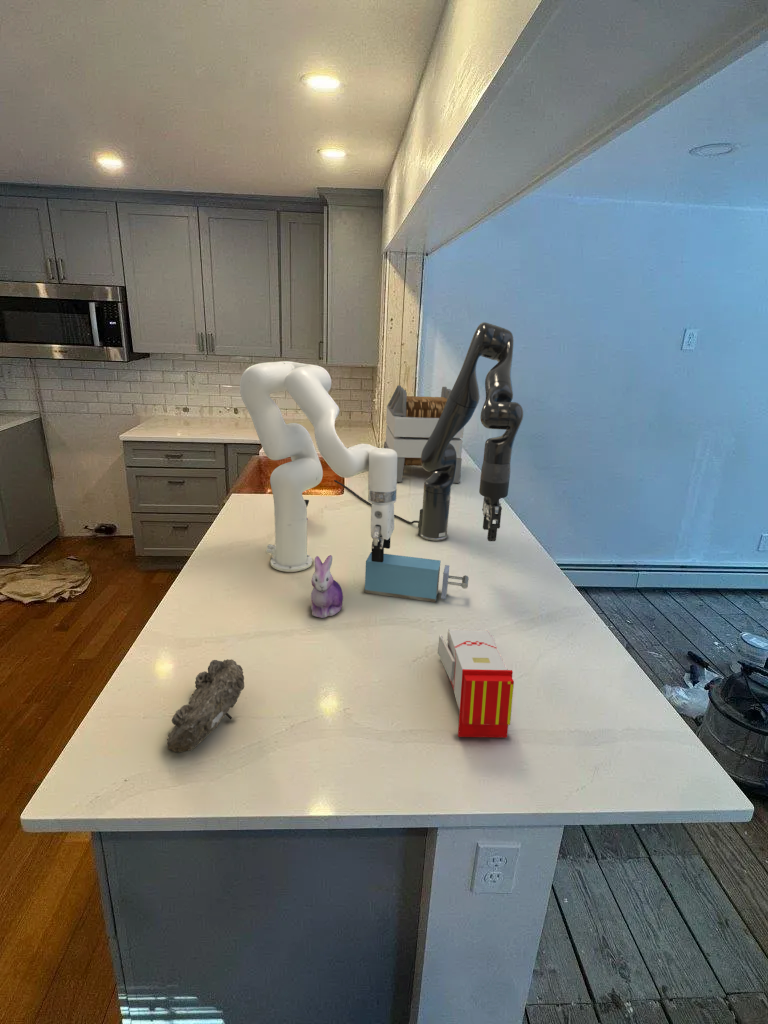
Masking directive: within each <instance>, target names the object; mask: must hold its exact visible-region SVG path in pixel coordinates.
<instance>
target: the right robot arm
mask: <svg viewBox="0 0 768 1024" xmlns="http://www.w3.org/2000/svg"><path fill="white" fill-rule="evenodd" d="M514 341H515V340H514V334H513V332H512V331H511V330H509V329H507V328H505V327H502V326H500V325H499V326H498V325H496V324H493V323H489V322H485V321H483V322H480V324H479V325H478V326H477V328H476V329H475V331H474V333H473V336H472V338H471V341H470V344H469V347H468V349H467V352H466V355H465V357H464V361H463V363H462V366H461V369H460V371H459V373H458V374H457V375H458V376H457V378H456V379H455V382H454V384H453V386H452V388H451V389H450V390H451V392H450V395H449V397H448V399H447V401H446V404H445V407H444V409H443V411H442V414H441V416H440V418H439V420H438V422H437V425H436V427H435V429H434V431H433V432H432V434H431V436H430V438H429V439H428V441H427V443H426V445H425V446H424V448H423V450H422V454H421V464H422V466H421V467H422V468H423V470H424V471H426V472H428V473H431V475H430V476H429V477H427V478H426V479H425V480H424V482H423V493H422V496H423V497H422V506H421V508H420V509H419V516H418V520H412V521H409V520H407V519H404V518H403V517H401V516H399V515H396V514H394V518H397V519H399V520H401V521H402V522H404V523H407V524H408V525H409V524H410V525H413V524H417V528H418V530H417V535H418V536H420V538H421V539H424V540H426V541H432V542H440V541H444V540H446V539H447V538H448V525H449V517H450V516H449V514H450V504H451V494H452V493H451V491H452V486H453V484H454V483H453V482H454V477H455V470H456V462H457V455H456V450H455V448H454V446H453V445H452V444H450V443H449V442H450V441H451V439H452V438H453V437H454V436H455V435H456V434H457V433H458V432H459V431H460V430H461V429H462V428H463V427H464V428H465V426H466V425H467V424H468V423H469V422H470V420H471V419H472V416H473V415H474V414H475V411H476V409H477V407H478V405H479V403H480V399H481V398H480V397H481V394H480V388H479V383H478V376H477V364H478V360H479V359H480V357H483V358H485V359H489V360H491V361H497V363H496V364H495V365H494V366H493V367H491V369H489V371H488V372H487V374H486V376H485V380H484V387H485V388H484V389H485V390H484V391H485V399H484V403H483V406H482V408H481V412H480V422H481V424H482V426H483V427H484V428H485V429H489V430H502V431H503V430H505V431H504V432H503V434H502V435H499V436H494V437H490V438H487V439H486V440H485V443H484V449H483V459H482V465H481V470H480V478H479V479H480V480H479V493H478V494H479V495H480V496H481V497H483V501H482V516H483V521H482V529H483V530H484V531H487V536H486V537H487V538H486V539H487V541H488V542H496V541H497V535H498V529H500V528H501V518H502V510H503V507H502V504H501V503H500V500H501V499H504V498H506V497H508V495H509V487H510V479H511V462H512V461H511V460H512V452H513V448H514V447H513V446H514V442H515V439H516V436H517V434H518V431H519V429H520V428H521V425H522V422H523V420H524V419H523V418H524V409H523V406H522V405H521V404H520V403H519V402H516V401H513V399H514V390H513V381H512V365H513V359H514V358H513V356H514V345H515V343H514ZM333 482H334V483H337V484H338V485H340V486H342V488H345V489H346V490H347V491H349V492H350V493H352V494H353V495H354V496H355V497H357V498H358V499H360V500H361V501H363V502H364V503H366V504H367V505H369V506H371V507H372V503H370V502H369V501H368V500H366V499H364V498H363V497H361V496H360V495H359V494H357V493H356V492H354V491H353V490H352V489H351V488H349V487H348V486H346V485H344V484H343V483H342V482H340V481H338V480H336V479H334V480H333ZM494 521H495V523H494Z"/></svg>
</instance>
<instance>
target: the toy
mask: <svg viewBox="0 0 768 1024" xmlns="http://www.w3.org/2000/svg"><path fill="white" fill-rule="evenodd" d="M446 640H447V643H446V641H445V639H444V636H443V635H442V634H439V637H438V646H437V656H438V657H439V659H440V661H441V663H442V666H443V668H444V670H445V672H446V674H447V677H448V679H449V681H450V684H451V687H452V690H453V693H454V697H455V701H456V705H457V708H458V711H459V714H458V715H459V716H458V730H457V731H458V732H457V737H458V738H508V731H509V726H510V725H511V717H512V707H513V697H514V696H513V695H514V684H515V680H514V679H513V673H514V671H513V670H512V669H508V667H507V665H506V662H505V661H504V659H503V658H502V655H501V653H500V651H499V649H498V647H497V643H496V639H495V637H494V635H493V634H491V632H490V631H489V629H467V628H466V629H465V628H463V629H461V628H460V629H459V628H448V630H447V639H446Z"/></svg>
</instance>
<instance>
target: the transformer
mask: <svg viewBox="0 0 768 1024" xmlns="http://www.w3.org/2000/svg"><path fill="white" fill-rule="evenodd" d="M451 390H452V389H451V388H447V386H442V387H441V392H440V393H441V394H440V396H415V395H414V396H413V395H412V396H411V395H407V394H408V393H407V390H406V389H404V388H403V387H402V385H399V384H398V385H397V386H396V388H395V390H394V392H393V394H392V395H391V398H390V400H389V402H388V404H387V405H386V413H385V414H386V415H385V423H386V428H385V438H384V442H383V448H388V449H392V450H394V451H396V453H397V483H402V482H403V475H404V469H405V466H406V467H407V466H411V467H412V466H413V467H415V466H416V467H417V466H418V467H422V464H421V454H422V450H423V448H424V446H425V445H426V443H427V441H428V439H429V438H430V436H431V434H432V432H433V431H434V429H435V427H436V425H437V422H438V420H439V418H440V416H441V414H442V411H443V409H444V407H445V404H446V401H447V399H448V397H449V395H450V392H451ZM464 429H465V426H464V427H463V428H462V429H461V430H460V431H459V432H458V433H457V434H456V435H455V436H454V437H453V438H452V439H451V441H450V442H449V443H450V444H452V445H453V446H454V448H455V450H456V455H457V462H456V470H455V477H454V482H453V484H455V483H456V484H459V483H461V472H462V461H463V460H462V453H463V442H464V441H463V440H462V439H463V438H464V431H465V430H464Z"/></svg>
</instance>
